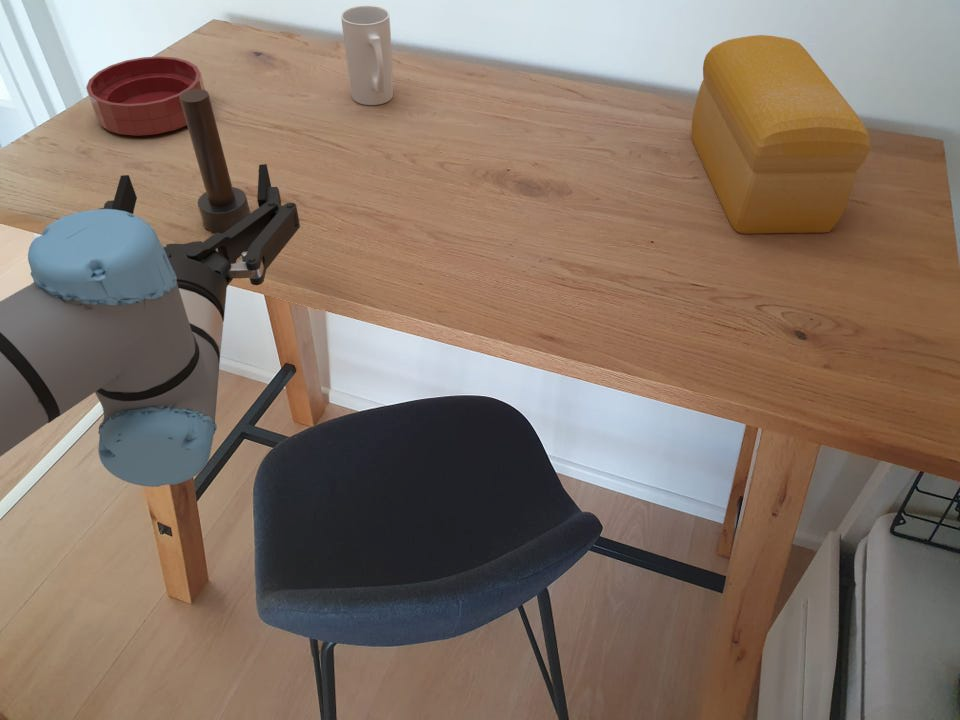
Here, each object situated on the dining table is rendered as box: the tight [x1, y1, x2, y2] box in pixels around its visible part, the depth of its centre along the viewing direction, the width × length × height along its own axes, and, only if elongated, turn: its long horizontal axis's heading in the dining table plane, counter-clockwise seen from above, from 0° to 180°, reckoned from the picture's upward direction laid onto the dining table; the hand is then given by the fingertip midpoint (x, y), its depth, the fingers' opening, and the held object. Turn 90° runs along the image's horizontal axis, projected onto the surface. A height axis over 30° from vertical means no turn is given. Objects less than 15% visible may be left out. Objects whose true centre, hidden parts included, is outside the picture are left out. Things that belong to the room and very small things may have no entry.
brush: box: [179, 89, 251, 234], centre depth 87 cm, size 6×6×16 cm
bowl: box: [85, 55, 206, 137], centre depth 109 cm, size 15×15×5 cm
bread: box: [691, 34, 871, 235], centre depth 95 cm, size 24×13×15 cm, turn 2°
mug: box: [340, 5, 394, 106], centre depth 110 cm, size 10×7×12 cm, turn 21°
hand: (197, 181), depth 79 cm, fingers open, 13 cm apart
